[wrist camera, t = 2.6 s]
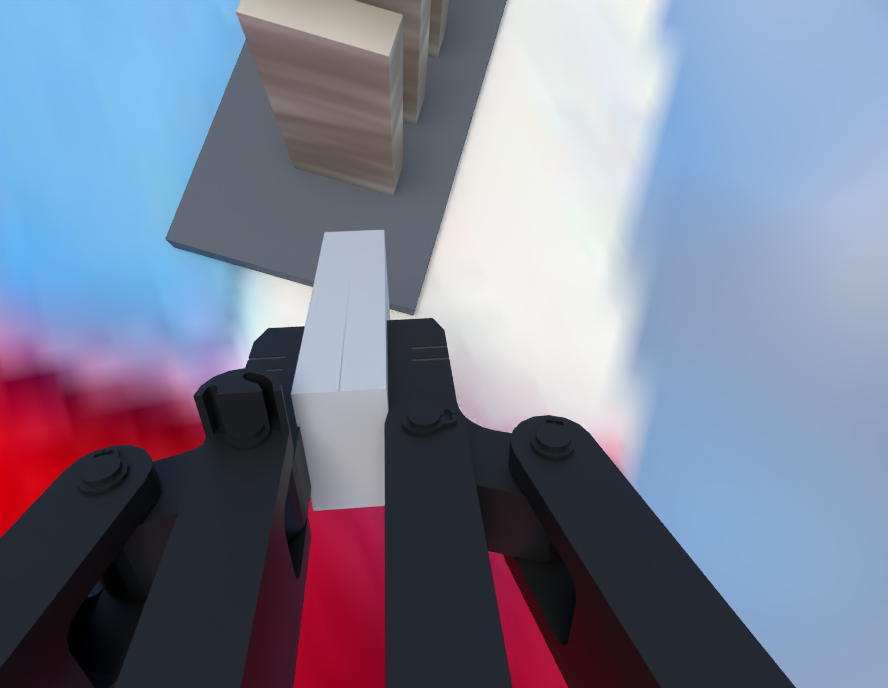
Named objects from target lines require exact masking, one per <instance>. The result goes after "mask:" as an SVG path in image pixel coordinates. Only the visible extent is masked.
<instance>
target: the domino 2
mask: <svg viewBox="0 0 888 688" xmlns="http://www.w3.org/2000/svg"><path fill="white" fill-rule="evenodd" d="M355 1H358V2H361V3H365V4H368V5H372V6H375V7H378V8H382V9H385V10H389V11H392V12H395V13H399V14H402V15H403V122H406V123H410V124H413V125H417V122H418V118H419V115H420V112H421V109H422V106H423V103H424V100H425V90H426V73H427V57H428V41H429V25H430V9H431V0H355Z"/></svg>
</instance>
